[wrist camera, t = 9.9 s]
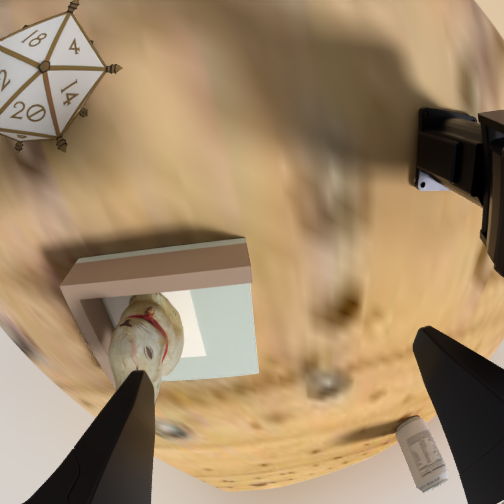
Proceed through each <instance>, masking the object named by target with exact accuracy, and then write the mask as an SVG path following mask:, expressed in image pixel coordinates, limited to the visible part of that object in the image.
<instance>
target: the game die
mask: <svg viewBox="0 0 504 504" xmlns="http://www.w3.org/2000/svg"><path fill="white" fill-rule="evenodd" d="M70 3H71V4H70V6H68V7H69V8H68V11H67V12H64V13H61V14H58V15H55V16H53V17H50V18H47V19H45V20H42V21H40V22H37V23H35V24H32V25H30V26H27V25H25V26H24V27H23V28H22V29H21V30H18V31H16V32H14V33H12V34H10V35H8V36H6V37H4V38H2V39H0V135H3V136H5V137H8V138H11V139H13V140H16V141H18V142H17V143H16V147H15V149H16V151H17V153H18V152H19V151H20V150H22V146H23V144H22V142H26V141H39V140H57V145H58V149H60V150H62V151H64V152H65V151H66V146H67V143H66V142H65V141H66V140H65V139H63V137H62V136H63V134H64V133H65V131H66V130H67V129H68V127H69V126H70V124H71V123H72V122H73V120H74V119H75V117H76V116H77V115H78V113H79V114H80V116H82V117H84V116H88V115H87V110H85V108H82V107H83V106H84V104H85V103H86V101H87V100H88V98H89V97H90V95H91V94H92V92H93V91H94V89H95V88H96V86H97V85H98V83H99V82H100V80H101V79H102V78H103V76H104V75H105V73H106V72H109V73H111V74H112V73H115V74H116V72H118V71H119V70H121V69H122V67H121V66H119V65H117V64H115V65H113V64H112V65H111V66H106V64H105V63H104V61H103V60H102V58H101V57H100V55H99V54H98V52H97V50H96V49H95V47H94V46H93V41H91V40H89V38H88V36H87V35H86V33H85V32H84V30H83V29H82V27H81V25H80V24H79V22H78V21H77V19H76V18H75V16H74V14H73V11H74V10H75V9H77V6H78V5H80V4H79V0H74V1H72V2H70Z"/></svg>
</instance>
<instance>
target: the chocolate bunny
mask: <svg viewBox="0 0 504 504" xmlns="http://www.w3.org/2000/svg"><path fill="white" fill-rule="evenodd" d="M183 331H184V330H183V326H182V321H181V318H180V314H179V312H178V311H177V310H176V309H175V308H174V307H173V306H172V304H171V303H170V301H169V300H168V299H167V298H166V297H165V296H163V295H162V294H161V293H152V294H141V295H133V296H132V297H131V298H130V301H129V306H128V307H127V308H126V309H125V310H124V312H123V313H122V315H121V318H120V322H119V323H118V324H117V326H116V328H115V330H114V332H113V334H112V337H111V341H110V346H109V351H108V360H109V363H110V366H111V370H112V373H113V376H114V380H115V385H116V391H117V390H118V388H119V387H120V386H121V384H122V383H123V382H124V381H125V379H126V378H127V377H128V375H129V374H130V373H131V372H132V371H133V370H145V371H146V372H147V374H148V376H149V378H150V380H151V382H152V384H153V386H154V392H155V404H156V400H157V396H158V393H159V388H160V383H161V378H162V377H163V376H167V375H169V374H170V373H171V372H172V371H173V369H174V368H175V367H176V365H177V364H178V362H179V360H180V357H181V355H182V351H183V346H184V332H183Z"/></svg>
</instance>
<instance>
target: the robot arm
mask: <svg viewBox="0 0 504 504" xmlns="http://www.w3.org/2000/svg"><path fill="white" fill-rule="evenodd" d="M425 112H426V113H427V114H426V116H425ZM478 120H479V123H477V119H476V118H475V117H473V116H468V115H464V114H459V113H454V112H449V111H444V110H438V109H433V108H426V107H422V108H421V109H420V110H419V135H418V154H417V170H416V181H415V186H416V188H417V189H419V190H420V191H442V190H452V191H454V192H456V193H457V194H459V195H461V196H463V197H465V198H466V199H468V200H470V201H472V202H473V203H475V204H477V205H478V206H480V207H482V208H483V218H482V229H481V230H480V239H481V240H482V242H483V243H484V245H485V246H486V248H487V253H488V255H489V256H490V258H491V260H492V261H493V263H494V269H495V270H496V271H497V272H498V273H499V274H500V275H501V276H502V277H503V278H504V110H498V111H490V112H483V113H478ZM422 182H423V183H422ZM421 183H422V185H421ZM413 352H414V355H415V358H416V361H417V363H418V366H419V369H420V372H421V375H422V378H423V381H424V384H425V387H426V389H427V392H428V394H429V396H430V399H431V401H432V403H433V406H434V408H435V410H436V413H437V415H438V418H439V420H440V423H441V425H442V428H443V430H444V433H445V435H446V438H447V441H448V443H449V446H450V449H451V452H452V454H453V457H454V460H455V463H456V466H457V469H458V471H459V474H460V475H459V476H460V479H461V482H462V485H463V488H464V491H465V495H466V498H467V502H468V504H497V503H499V502H501V501H502V500H504V369H502V368H501V367H499V366H497V365H496V364H494V363H492V362H491V361H489V360H488V359H486V358H484V357H483V356H481V355H479V354H477V353H476V352H474V351H472V350H471V349H469V348H467V347H466V346H464V345H462V344H461V343H459V342H457V341H456V340H454V339H452V338H450V337H449V336H447V335H445V334H444V333H442V332H440V331H438V330H437V329H435V328H433V327H431V326H425V327H422V328H420V329H419V330H418V332H417V335H416V337H415V340H414V343H413ZM154 443H155V392H154V386H153V384H152V382H151V380H150V378H149V376H148V374H147V372H146V371H145V370H133V371H132V372H131V373H130V374H129V375H128V377H127V378H126V379H125V381H124V382H123V383H122V384H121V386H120V387H119V388H118V390H117V391H116V392H115V394H114V395H113V396H112V397H111V399H110V400H109V401H108V403H107V404H106V405H105V407H104V408H103V409H102V411H101V412H100V413H99V414H98V416H97V417H96V418H95V420H94V421H93V423H92V424H91V425H90V427H89V428H88V429H87V431H86V432H85V433H84V435H83V436H82V437H81V438H80V440H79V441H78V442H77V444H76V445H75V447H74V449H72V450H71V452H70V453H69V454H68V456H67V457H66V458H65V460H64V461H63V462H62V464H61V465H60V466H59V467H58V468H57V469H56V471H55V472H54V473H53V474H52V475H51V476H50V477H49V478H48V480H46V482H45V483H44V484H43V485H42V486H41V487H40V488H39V489H38V490H37V491H36V492H35V493H34V494H33V495H32V496H31V497H30V498H29V499H28V500H27V501H25V502H24V503H22V504H151V488H152V470H153V455H154ZM502 504H504V502H503V503H502Z"/></svg>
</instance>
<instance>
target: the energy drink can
mask: <svg viewBox="0 0 504 504" xmlns="http://www.w3.org/2000/svg"><path fill="white" fill-rule="evenodd" d="M396 437H397V440H398V442H399V444H400V447H401V449H402V452H403V454H404V456H405V459H406V461H407V464H408V466H409V469H410V471H411V474H412V476H413V479H414V481H415V484H416V487H417V488H418V489H420V490H421V491H422V492H423V493H425V492H428V491H430V490H432V489H433V488H435V487H437V486H439V485H441V484H442V483H444V482H446V481H447V480H448V479H447V474H448V469H447V467H446V465H445V463H444V461H443V458H442V456H441V454H440V452H439V450H438V447H437V445H436V443H435V441H434V439H433V437H432V435H431V433H430V431H429V429H428V427H427V425H426V422H425V420H424V419H422V418H420V417H419V416H416V417H413V418H411V419H408V420H407V421H405V422H403V423H402V424H401V425H399V426H398V428H397V433H396Z"/></svg>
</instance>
